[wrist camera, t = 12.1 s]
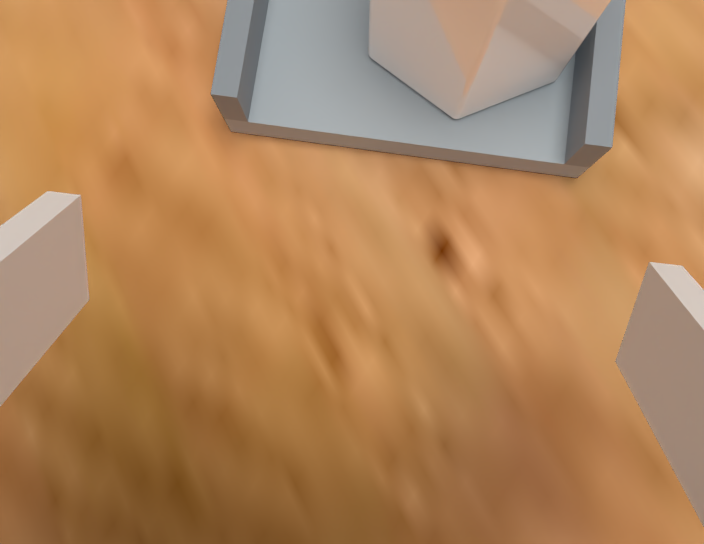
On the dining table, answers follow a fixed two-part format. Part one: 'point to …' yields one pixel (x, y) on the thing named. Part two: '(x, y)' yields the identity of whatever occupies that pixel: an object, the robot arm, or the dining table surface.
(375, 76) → the dock bay
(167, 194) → the dining table surface
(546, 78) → the jar
